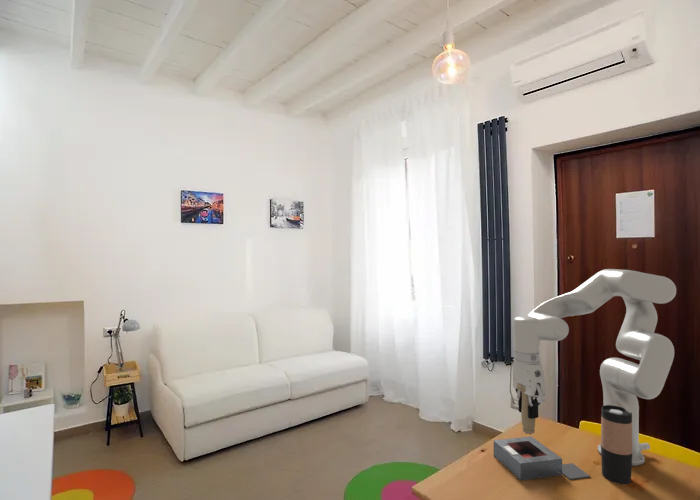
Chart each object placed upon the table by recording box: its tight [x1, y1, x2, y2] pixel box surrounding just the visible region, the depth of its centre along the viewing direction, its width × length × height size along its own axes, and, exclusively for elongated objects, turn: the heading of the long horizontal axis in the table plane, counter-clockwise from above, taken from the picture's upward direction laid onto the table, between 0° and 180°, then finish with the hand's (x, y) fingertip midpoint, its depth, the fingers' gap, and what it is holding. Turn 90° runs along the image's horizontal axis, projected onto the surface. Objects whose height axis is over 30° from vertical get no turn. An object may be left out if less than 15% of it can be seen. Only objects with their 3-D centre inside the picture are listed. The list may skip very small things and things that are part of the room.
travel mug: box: [600, 405, 633, 485], centre depth 114 cm, size 8×8×20 cm
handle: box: [516, 384, 536, 436], centre depth 121 cm, size 5×6×15 cm
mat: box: [562, 462, 591, 481], centre depth 117 cm, size 7×7×1 cm
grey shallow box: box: [493, 435, 563, 482], centre depth 121 cm, size 14×14×5 cm
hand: (528, 414), depth 121 cm, fingers closed on handle, 3 cm apart
